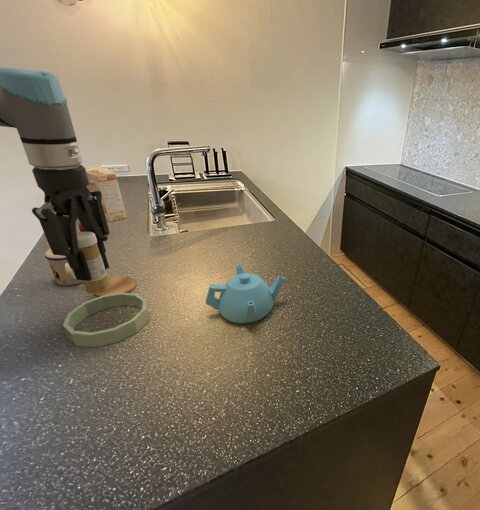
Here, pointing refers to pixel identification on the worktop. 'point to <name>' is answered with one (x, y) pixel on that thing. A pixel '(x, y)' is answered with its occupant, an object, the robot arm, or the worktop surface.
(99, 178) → the coffeecake box
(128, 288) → the coaster
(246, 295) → the teapot
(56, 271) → the teacup with lid
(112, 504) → the worktop surface
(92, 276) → the sprinkles bottle
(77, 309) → the green ring
